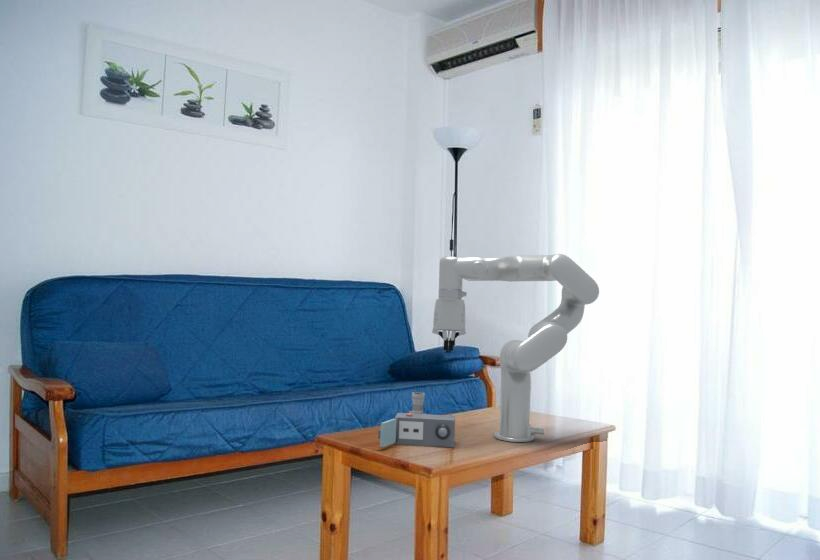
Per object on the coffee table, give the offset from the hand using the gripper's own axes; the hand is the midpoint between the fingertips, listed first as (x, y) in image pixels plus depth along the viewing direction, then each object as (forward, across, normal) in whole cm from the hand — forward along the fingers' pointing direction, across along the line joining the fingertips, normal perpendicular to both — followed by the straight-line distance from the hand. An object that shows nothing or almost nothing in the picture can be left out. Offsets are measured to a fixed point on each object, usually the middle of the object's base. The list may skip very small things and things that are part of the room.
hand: (448, 352), depth 206 cm
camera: (+27, +8, -11) cm, 31 cm away
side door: (+26, +17, +18) cm, 36 cm away
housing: (+27, +6, +9) cm, 29 cm away
